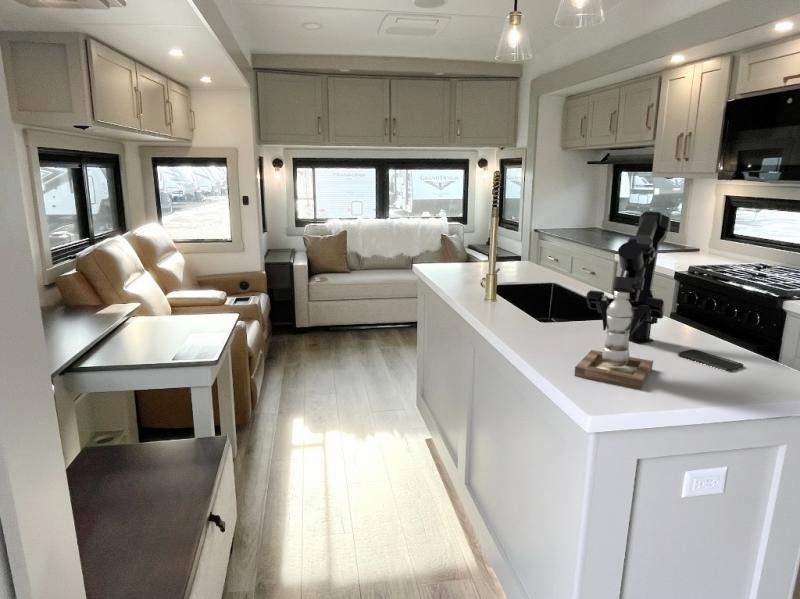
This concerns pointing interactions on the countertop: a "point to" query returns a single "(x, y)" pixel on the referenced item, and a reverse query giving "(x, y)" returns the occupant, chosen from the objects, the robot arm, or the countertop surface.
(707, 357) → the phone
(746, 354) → the countertop surface
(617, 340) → the plastic bottle
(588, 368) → the brown wooden frame
